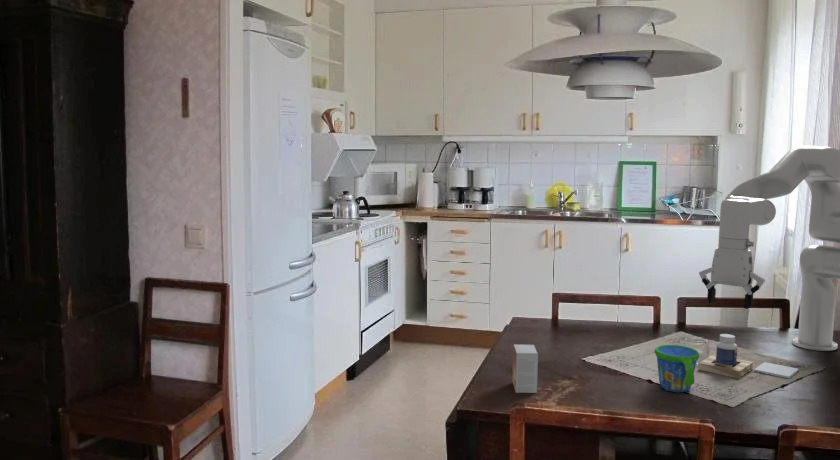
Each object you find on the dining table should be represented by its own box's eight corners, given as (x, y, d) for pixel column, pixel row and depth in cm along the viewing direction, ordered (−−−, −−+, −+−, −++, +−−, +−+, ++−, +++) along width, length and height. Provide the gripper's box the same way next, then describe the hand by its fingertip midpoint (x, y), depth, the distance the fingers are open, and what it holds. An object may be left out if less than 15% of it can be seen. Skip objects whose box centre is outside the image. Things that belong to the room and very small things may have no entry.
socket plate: (713, 360, 213) (713, 353, 213) (752, 369, 206) (753, 361, 206) (698, 369, 205) (698, 362, 205) (739, 378, 198) (739, 370, 198)
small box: (512, 382, 194) (512, 343, 193) (533, 382, 194) (534, 344, 192) (515, 393, 186) (515, 352, 185) (537, 393, 186) (538, 353, 184)
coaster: (764, 364, 210) (764, 362, 210) (798, 370, 204) (798, 368, 204) (754, 371, 204) (754, 369, 204) (788, 378, 198) (789, 376, 198)
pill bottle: (737, 373, 202) (740, 338, 201) (717, 371, 203) (719, 337, 202) (733, 367, 208) (735, 333, 206) (713, 365, 209) (715, 332, 207)
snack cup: (706, 399, 182) (709, 359, 181) (664, 399, 182) (666, 359, 181) (684, 378, 198) (686, 342, 196) (645, 378, 198) (647, 341, 196)
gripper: (770, 246, 198) (766, 308, 200) (706, 239, 210) (703, 298, 212) (761, 248, 193) (757, 312, 195) (696, 242, 204) (693, 302, 206)
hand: (729, 305), depth 203 cm, fingers open, 9 cm apart
